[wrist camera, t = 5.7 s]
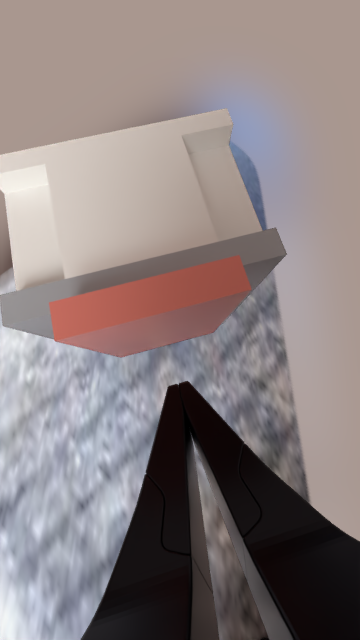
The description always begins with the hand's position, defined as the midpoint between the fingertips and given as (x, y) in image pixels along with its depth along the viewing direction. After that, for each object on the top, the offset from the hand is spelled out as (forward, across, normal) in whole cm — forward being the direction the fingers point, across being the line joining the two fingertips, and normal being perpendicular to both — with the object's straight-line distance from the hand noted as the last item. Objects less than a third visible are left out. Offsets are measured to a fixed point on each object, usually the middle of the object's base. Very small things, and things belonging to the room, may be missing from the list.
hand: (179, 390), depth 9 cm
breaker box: (+10, 0, +1) cm, 10 cm away
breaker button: (+6, 0, -3) cm, 7 cm away
